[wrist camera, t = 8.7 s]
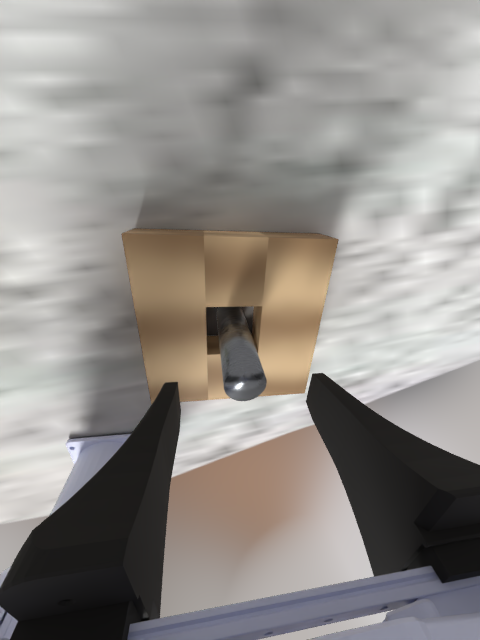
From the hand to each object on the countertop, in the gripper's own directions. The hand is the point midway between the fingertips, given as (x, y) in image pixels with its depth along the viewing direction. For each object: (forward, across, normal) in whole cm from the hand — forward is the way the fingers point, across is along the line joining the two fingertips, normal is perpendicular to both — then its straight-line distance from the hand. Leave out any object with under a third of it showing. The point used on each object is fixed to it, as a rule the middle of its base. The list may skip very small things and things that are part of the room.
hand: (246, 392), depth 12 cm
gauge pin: (+10, 0, 0) cm, 10 cm away
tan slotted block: (+10, 0, 0) cm, 10 cm away
